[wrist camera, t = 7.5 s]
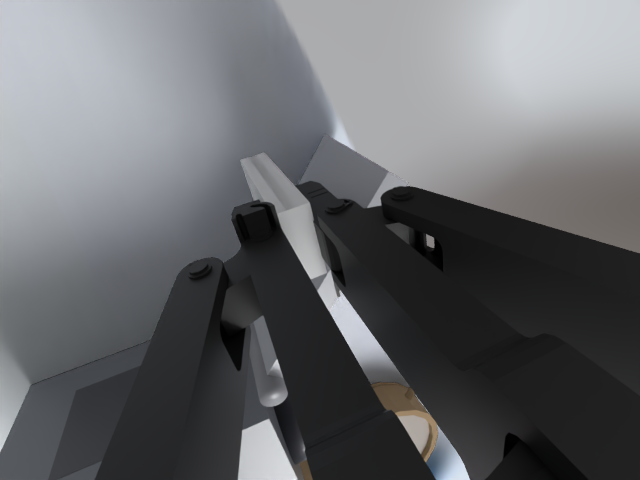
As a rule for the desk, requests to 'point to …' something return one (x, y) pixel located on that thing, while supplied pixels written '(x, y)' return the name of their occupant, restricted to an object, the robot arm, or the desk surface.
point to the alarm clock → (403, 418)
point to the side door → (344, 183)
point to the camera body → (103, 415)
